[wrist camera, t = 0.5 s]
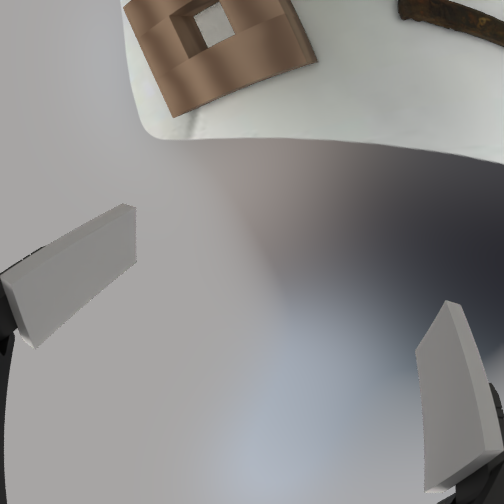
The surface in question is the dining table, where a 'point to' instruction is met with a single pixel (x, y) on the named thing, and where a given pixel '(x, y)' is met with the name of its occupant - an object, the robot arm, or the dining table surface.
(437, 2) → the hand tool
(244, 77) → the socket block
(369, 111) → the dining table surface
